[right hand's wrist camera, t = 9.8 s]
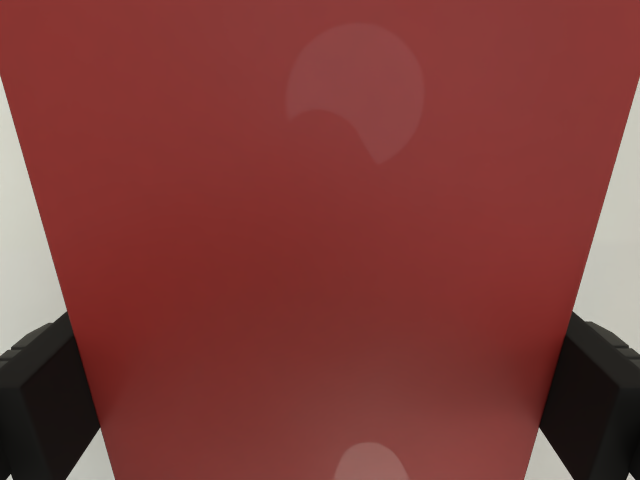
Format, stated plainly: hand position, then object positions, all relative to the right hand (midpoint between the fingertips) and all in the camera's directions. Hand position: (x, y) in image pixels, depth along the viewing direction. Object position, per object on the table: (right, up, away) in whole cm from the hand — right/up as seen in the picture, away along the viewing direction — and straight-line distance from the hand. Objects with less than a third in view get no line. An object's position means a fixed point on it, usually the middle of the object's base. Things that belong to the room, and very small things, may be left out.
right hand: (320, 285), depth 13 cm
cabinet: (0, +7, +4) cm, 8 cm away
